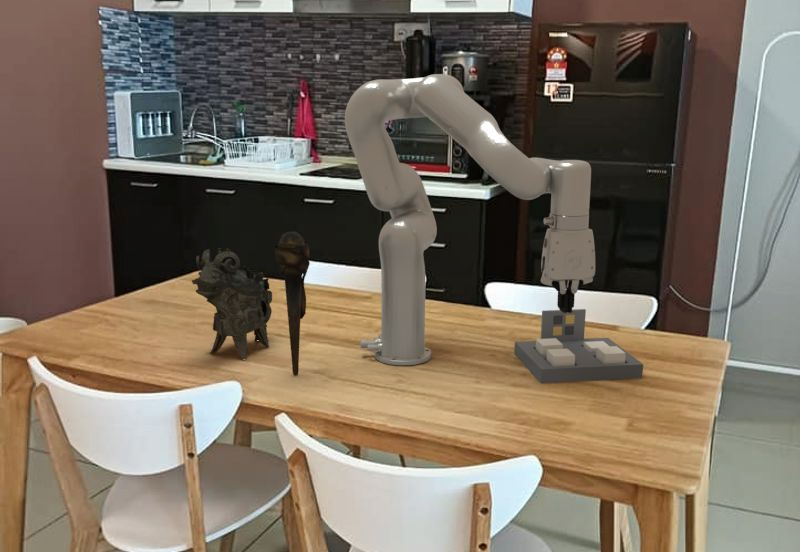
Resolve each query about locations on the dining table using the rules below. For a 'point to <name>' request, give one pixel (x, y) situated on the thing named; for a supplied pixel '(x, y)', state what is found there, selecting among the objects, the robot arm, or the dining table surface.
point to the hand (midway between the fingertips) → (565, 311)
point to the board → (576, 363)
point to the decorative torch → (294, 285)
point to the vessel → (234, 299)
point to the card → (563, 324)
